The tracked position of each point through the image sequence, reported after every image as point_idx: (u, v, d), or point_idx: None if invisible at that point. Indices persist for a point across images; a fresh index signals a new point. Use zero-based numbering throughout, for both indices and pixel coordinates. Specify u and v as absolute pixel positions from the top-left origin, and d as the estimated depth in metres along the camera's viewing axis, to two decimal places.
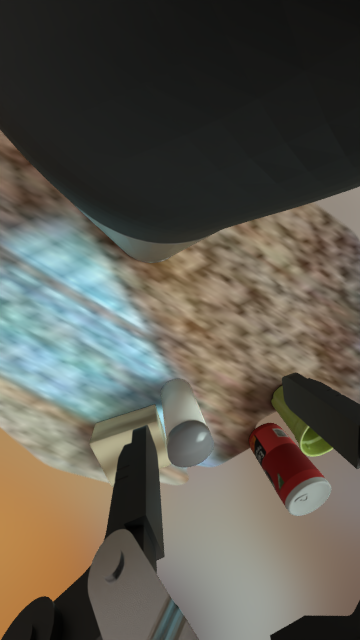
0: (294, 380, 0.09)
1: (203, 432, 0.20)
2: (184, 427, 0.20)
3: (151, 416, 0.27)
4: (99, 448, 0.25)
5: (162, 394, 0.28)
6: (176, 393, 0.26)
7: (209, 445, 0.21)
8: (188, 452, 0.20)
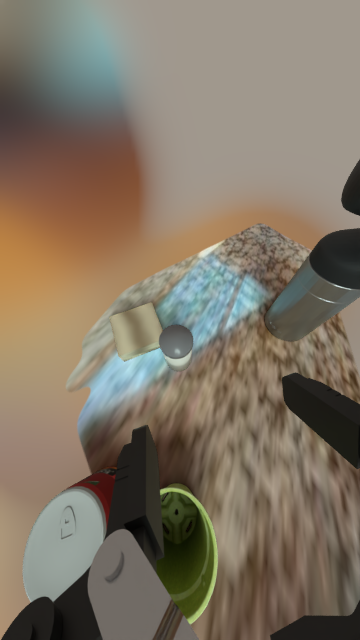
0: (294, 380, 0.09)
1: (191, 345, 0.27)
2: None
3: None
4: (146, 307, 0.39)
5: None
6: None
7: (178, 352, 0.27)
8: (173, 338, 0.28)
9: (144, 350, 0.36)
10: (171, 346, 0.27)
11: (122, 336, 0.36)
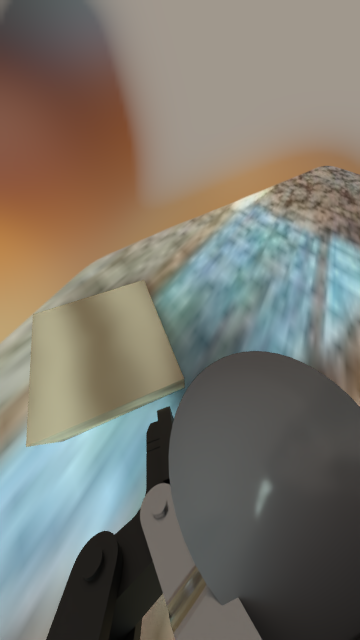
0: None
1: None
2: None
3: None
4: (131, 291, 0.16)
5: None
6: None
7: (340, 608, 0.03)
8: (259, 443, 0.04)
9: (119, 412, 0.12)
10: (262, 523, 0.04)
11: (55, 373, 0.12)
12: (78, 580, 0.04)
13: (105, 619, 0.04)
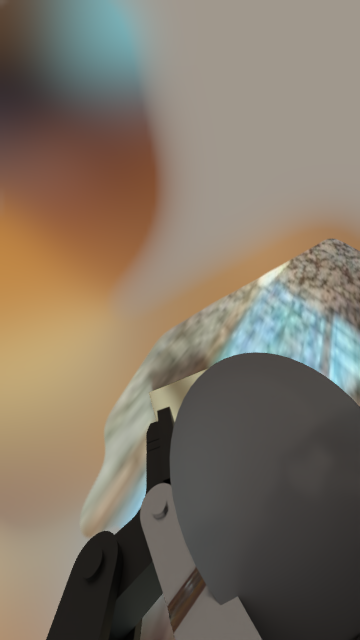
0: None
1: None
2: None
3: None
4: None
5: None
6: None
7: (343, 613, 0.03)
8: (260, 446, 0.04)
9: None
10: (264, 527, 0.04)
11: None
12: (78, 580, 0.04)
13: (105, 619, 0.04)
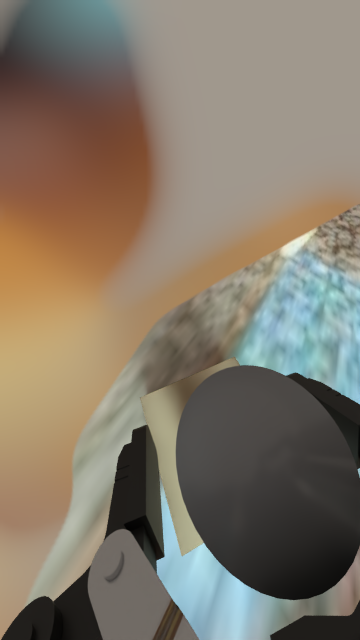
0: (294, 380, 0.09)
1: (357, 493, 0.05)
2: None
3: None
4: None
5: None
6: None
7: (303, 560, 0.04)
8: (246, 441, 0.06)
9: None
10: (248, 502, 0.05)
11: None
12: None
13: None
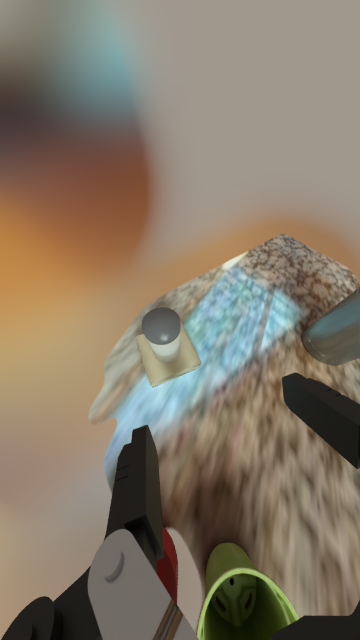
0: (294, 380, 0.09)
1: (178, 328, 0.24)
2: None
3: None
4: None
5: None
6: None
7: (163, 336, 0.24)
8: (158, 321, 0.25)
9: (176, 375, 0.32)
10: (155, 330, 0.24)
11: (152, 360, 0.32)
12: None
13: None
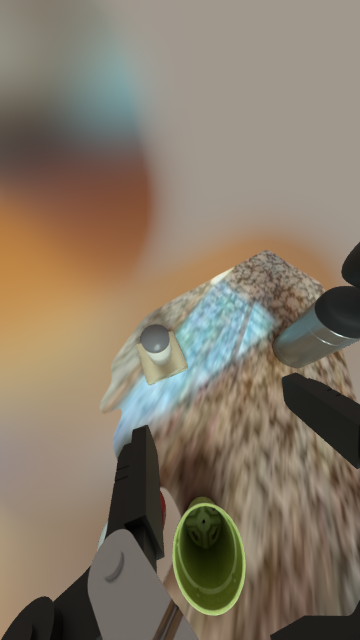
0: (294, 380, 0.09)
1: (167, 341, 0.33)
2: (168, 333, 0.34)
3: None
4: None
5: None
6: None
7: (156, 347, 0.32)
8: (152, 335, 0.33)
9: (168, 376, 0.41)
10: (150, 342, 0.33)
11: (149, 364, 0.41)
12: None
13: None
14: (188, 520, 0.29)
